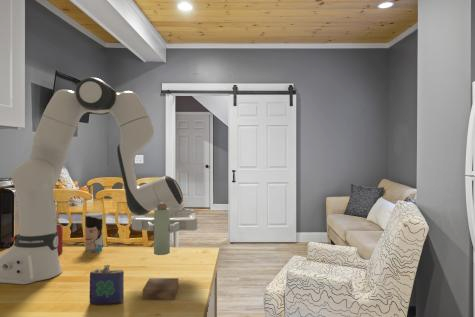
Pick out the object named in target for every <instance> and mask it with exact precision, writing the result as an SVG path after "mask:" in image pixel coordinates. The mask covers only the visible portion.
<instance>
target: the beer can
mask: <svg viewBox="0 0 475 317" xmlns="http://www.w3.org/2000/svg"><path fill="white" fill-rule="evenodd" d="M56 230H57V231H58V247H57V251H58V255H60V254H62V253H63V243H64V242H63V226H62V223H61V222H56Z"/></svg>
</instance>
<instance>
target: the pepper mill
mask: <svg viewBox="0 0 475 317" xmlns="http://www.w3.org/2000/svg"><path fill="white" fill-rule="evenodd" d="M153 215H154V231H153V254H154V255H156V256H166V255H169V254H170V253H171V252H170V251H171V250H170V249H171V248H170V246H171V245H170V244H171V242H170V241H171V240H170V239H171V238H170V236H171V233H170V231H169V229H170V228H169V225H170V209H168V208H167V206H166V204H165V203H159V204H158V206H157V209H154V210H153Z"/></svg>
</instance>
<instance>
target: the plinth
mask: <svg viewBox="0 0 475 317" xmlns="http://www.w3.org/2000/svg"><path fill="white" fill-rule="evenodd" d="M179 280H180V279H179V278H178V277H172V278H171V277H167V278H166V277H164V278H163V277H161V278H160V277H150V278H148V280H147V282H146V283H145V285H144V287H143V288H142V300H143V301H175V299H176V298H177V293H178V290H179Z"/></svg>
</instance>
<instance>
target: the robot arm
mask: <svg viewBox="0 0 475 317" xmlns="http://www.w3.org/2000/svg"><path fill="white" fill-rule="evenodd" d="M109 113H110V114H111V115H112V117H113V118H114V120H115V122H116V123H117V126H118V129H119V132H120V143H119V144H118V145H117V148H116V152H117V153H116V154H117V159H118V164H119V168H120V174H121V177H122V182H123V185H124V191H125V199H126V200H125V201H126V206H127V208H128V210H129V212H131V213H132V214H134V215H136V216H134V217H132V219H131V229H132V230H133V231H149V232H154V214H149V213H150V212H151V213H152V211H154V209H157V206H158V204H159V203H165V204H166V206H167V208H168V209H170V225H169V228H170V229H169V231H170V234H172V233H174V232H175V233H177V232H179V231H181V232H182V231H192V232H194V231H198V215H197V214H196V212H195V209H192V208H191V209H190V208H185V206H184V203H183V200H184V197H183V196H184V195H183V192H182V189H181V187H180V185H179V183H178V181H176V179H174V178H172V177H171V176H168V175H163V176H161V177H159V178H157V179H154V180H152V181H149V182H146V183H145V184H142V185H139V184H138V181H137V176H136V172H135V168H134V160H135V158H136V157H137V155H138V154H139V153H140V152H142V150H143V149H144V148H145V147H147V145H149V143H150V142H151V140H152V139H153V135H154V126H153V123H152V119H151V117H150V115H149V113H148V110H147V108H146V107H145V105H144V103H143V102H142V100H141V98H140V97H139V95H138V94H137V93H135V92H134V91H130V90H125V91H121V92H117V91H116V89H115V88H114V89H113V88H112V87H111V86H110V85H109V84H108V83H107V82H105V81H104V80H102V79H100V78H97V77H86V78H83V79H82V80H81V81H79V83H77V85H76V88H75V90H70V89H65V88H64V89H63V88H62V89H59V90H56V91H55V92H54V94H53V95H52V97H51V99H50V100H49V102H48V104H47V105H46V108H45V109H44V111H43V114H42V116H41V118H40V121H39V123H38V126H37V128H36V129H35V130H36V131H35V133H34V136H33V140H32V141H33V142H32V146H31V151H30V155H29V158H28V160H24V161H23V162H21V163H20V164H18V165H17V166H16V167H15V169H14V170H13V172H12V177H11V181H12V185H13V186H14V190H15V197H16V201H17V207H18V226H19V227H18V233H17V234H16V235H14V236H13V237H11V238H10V239H11V240H10V242H14V243H13V245H12V246H10V247H9V248H8V249H6V250H5V251H3V253H2V254H0V283H2V284H3V283H4V284H15V285H27V284H28V285H29V284H31V283H34V282H40V281H44V280H48V279H51V278H54V277H56V276H58V275H60V274H61V273H62V271H63V269H62V265H61V264H60V259H59V254H58V251H57V247H58V231H57V230H56V223H57V206H56V203H55V196H54V186H55V185H56V184H57V183H58V182H59V180H60V177H61V174H62V171H63V168H64V165H65V162H66V161H65V160H66V158H67V155H68V150H69V148H70V145H71V142H72V140H73V137H74V135H75V133H76V130H77V128H78V125H79V122H80V120H81V119H82V117H83V115H85V114H89V115H101V116H102V115H107V114H109Z"/></svg>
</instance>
